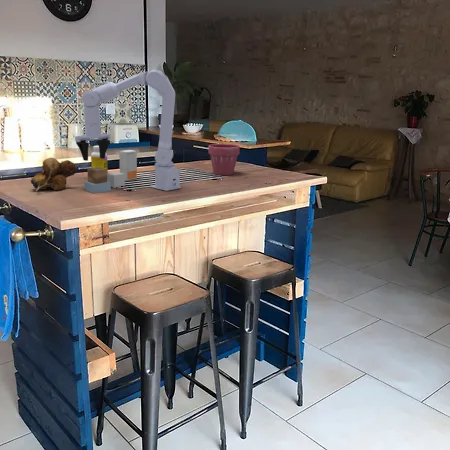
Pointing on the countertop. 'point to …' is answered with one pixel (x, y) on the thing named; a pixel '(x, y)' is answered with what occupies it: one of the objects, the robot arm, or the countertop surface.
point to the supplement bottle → (98, 159)
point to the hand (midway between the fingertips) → (94, 159)
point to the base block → (97, 187)
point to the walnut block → (97, 175)
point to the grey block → (116, 179)
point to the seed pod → (53, 174)
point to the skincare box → (128, 164)
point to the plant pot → (223, 158)
